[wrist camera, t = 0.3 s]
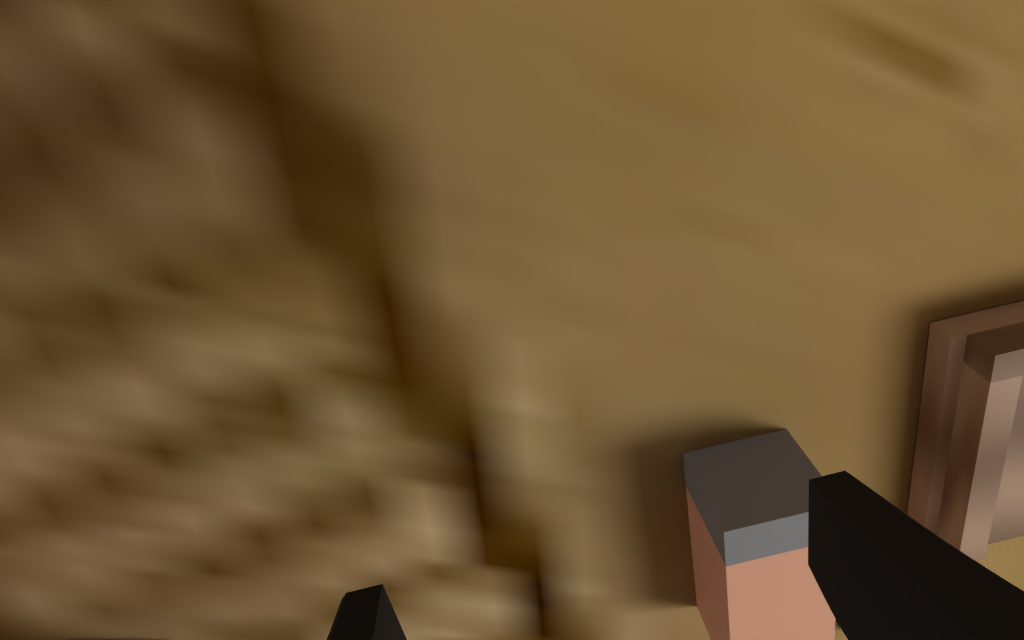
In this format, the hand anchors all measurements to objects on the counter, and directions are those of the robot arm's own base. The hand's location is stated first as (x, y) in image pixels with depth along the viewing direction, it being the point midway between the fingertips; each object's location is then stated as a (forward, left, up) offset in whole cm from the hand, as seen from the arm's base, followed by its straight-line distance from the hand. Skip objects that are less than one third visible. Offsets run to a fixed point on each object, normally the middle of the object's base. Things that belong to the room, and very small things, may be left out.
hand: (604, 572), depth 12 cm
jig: (-9, -17, -10) cm, 21 cm away
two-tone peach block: (-11, -6, -10) cm, 16 cm away
